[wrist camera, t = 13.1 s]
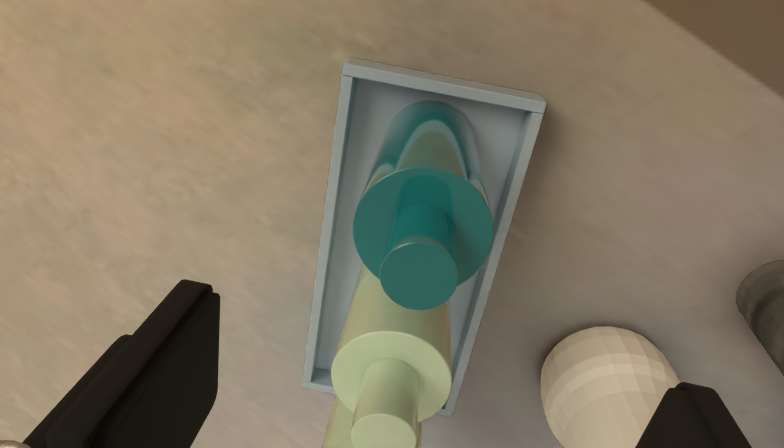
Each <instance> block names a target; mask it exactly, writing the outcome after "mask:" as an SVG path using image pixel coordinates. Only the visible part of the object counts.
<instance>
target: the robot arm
mask: <svg viewBox="0 0 784 448" xmlns="http://www.w3.org/2000/svg"><path fill="white" fill-rule="evenodd" d="M219 320H220V296H219V294H218V293H213V289H212V286H211V285H209V284H205V283H200V282H195V281H190V280H185V279H184V280H181V281H180V282H179V283H178V284H177V285H176V286H175V287H174V288H173V290H172V291H171V292H170V293H169V294H168V295H167V296H166V297H165V299H164V300H163V301H162V302H161V303H160V304H159V305H158V307H157V308H156V309H155V310H154V311H153V312H152V313H151V314H150V316H149V317H148V318H147V319H146V320H145V321H144V322H143V323H142V325H141V326H140V327H139V328H138V329H137V330H136V331H135V333H134V334H133V335H127V334H126V335H123V336H121V337H120V338H118V339H117V340H116V341H115V342H114V343H113V344H112V345H111V346H110V347H109V349H108V350H107V351H106V352H105V353H104V354H103V355H102V356H101V357H100V358H99V359H98V361H97V362H96V363H95V364H94V365H93V366H92V367H91V368H90V369H89V370H88V371H87V373H86V374H85V375H84V376H83V377H82V378H81V379H80V380H79V381H78V382H77V383H76V385H75V386H74V387H73V388H72V389H71V390H70V391H69V392H68V393H67V394H66V395H65V397H64V398H63V399H62V400H61V401H60V402H59V403H58V404H57V405H56V406H55V407H54V409H53V410H52V411H51V412H50V413H49V414H48V415H47V416H46V417H45V418H44V419H43V421H42V422H41V423H40V424H39V425H38V426H37V427H36V428H35V429H34V430H33V431H32V433H31V434H30V435H29V436H28V437H27V438H26V439H25V440H24V441H23V442H22V443H20V442H17V441H7V440H0V448H190V447H191V445H192V443H193V441H194V439H195V438H196V436H197V434H198V432H199V430H200V428H201V427H202V425H203V423H204V421H205V419H206V418H207V416H208V414H209V412H210V410H211V409H212V407H213V404H214V402H215V399H216V395H217V389H218V356H219ZM635 448H752V447H751V446H750V444H749V443H748V441H747V439H746V438H745V436H744V435H743V433H742V431H741V430H740V428H739V427H738V425H737V424H736V422H735V420H734V419H733V417H732V416H731V414H730V413H729V411H728V409H727V408H726V406H725V405H724V403H723V401H722V400H721V398H720V397H719V395H718V394H717V392H716V391H715V390H714V389H712V388H709V387H704V386H699V385H694V384H689V383H685V382H683V383H679V384H677V385H676V387H675V388H669V389H668V390H667V391H666V392H665V394H664V396H663V398H662V400H661V402H660V403H659V405H658V407H657V409H656V411H655V412H654V414H653V416H652V418H651V420H650V421H649V423H648V425H647V427H646V429H645V431H644V432H643V434H642V436H641V438H640V440H639V441H638V443H637V445H636V447H635Z"/></svg>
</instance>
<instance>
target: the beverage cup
mask: <svg viewBox="0 0 784 448" xmlns="http://www.w3.org/2000/svg"><path fill="white" fill-rule="evenodd" d="M736 302H737V305H738V308H739V311H740V312H741V313H742V314H743V315H744V318H745V319H746V321H747V322H748V324H749V327H750V329H751V330H752V332H753V333H754V334H755V336H756V337H757V339H758V340H759V342H760V343H761V344H762V346H763V347H764V349H765V350H766V351H767V353H768V354H769V356H770V357H771V359H772V360H773V361H774V363H775V364H776V366H777V367H778V368H779V370H780V371H781V373H782V374H783V375H784V260H780V261H774V262H771V263H768V264H765V265H762V266H761V267H759V268H758V269H756V270H754V271H753V272H751V273H750V274H749V275H748V276H747V277H746V278H745V279H744V281H743V282H742V283H741V285H740V287H739V289H738V291H737V300H736Z"/></svg>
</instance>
